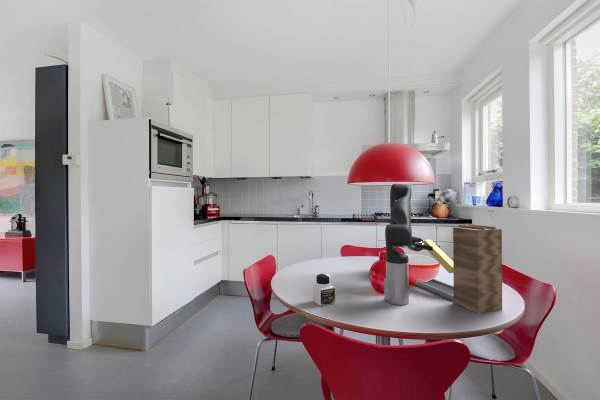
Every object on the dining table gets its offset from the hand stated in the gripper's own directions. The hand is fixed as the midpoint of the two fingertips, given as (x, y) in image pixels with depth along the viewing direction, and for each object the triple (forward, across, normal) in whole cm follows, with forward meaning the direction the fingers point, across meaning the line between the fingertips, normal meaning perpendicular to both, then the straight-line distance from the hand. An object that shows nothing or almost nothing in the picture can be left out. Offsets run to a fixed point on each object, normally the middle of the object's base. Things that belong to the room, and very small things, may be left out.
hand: (435, 248), depth 140 cm
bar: (+1, 0, +5) cm, 5 cm away
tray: (+4, 0, +20) cm, 20 cm away
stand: (+23, 0, +20) cm, 31 cm away
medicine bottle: (0, -59, +20) cm, 62 cm away
